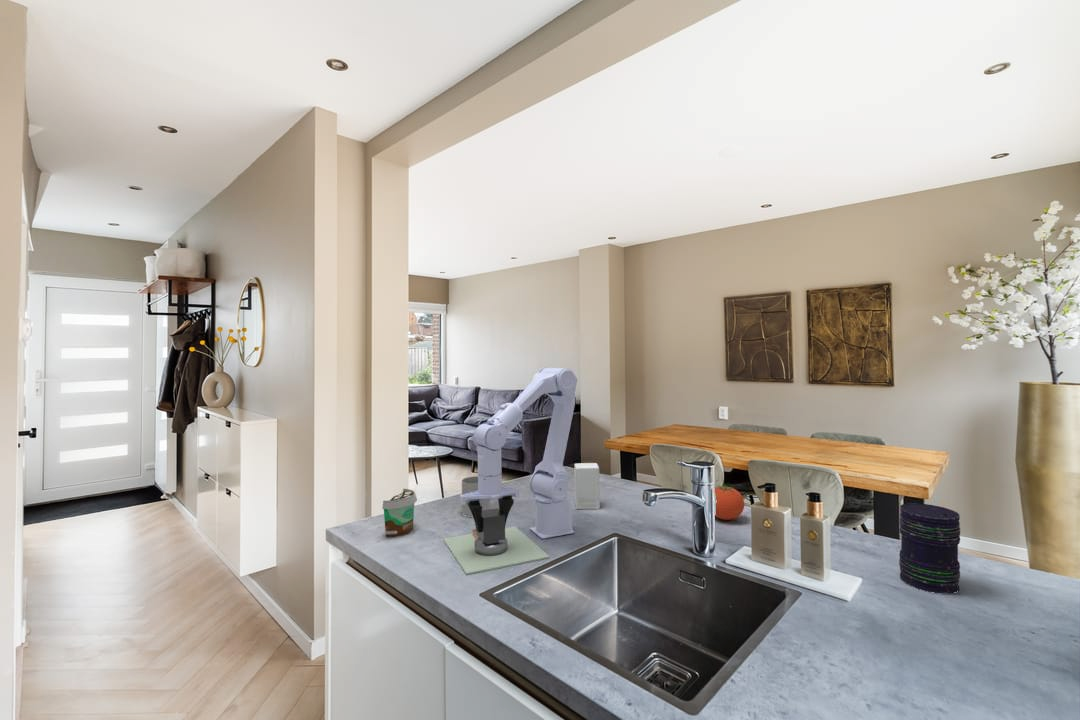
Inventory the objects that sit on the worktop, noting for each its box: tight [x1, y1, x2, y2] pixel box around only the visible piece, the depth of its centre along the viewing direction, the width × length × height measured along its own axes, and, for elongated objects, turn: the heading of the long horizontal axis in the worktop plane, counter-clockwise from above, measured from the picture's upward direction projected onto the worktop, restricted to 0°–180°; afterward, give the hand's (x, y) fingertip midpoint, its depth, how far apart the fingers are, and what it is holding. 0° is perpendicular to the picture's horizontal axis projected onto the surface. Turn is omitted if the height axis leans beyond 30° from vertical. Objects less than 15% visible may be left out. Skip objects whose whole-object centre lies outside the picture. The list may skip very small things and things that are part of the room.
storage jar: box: [898, 502, 961, 594], centre depth 103 cm, size 10×10×15 cm
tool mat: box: [442, 525, 550, 576], centre depth 124 cm, size 20×22×1 cm
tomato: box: [714, 483, 745, 521], centre depth 142 cm, size 10×10×10 cm
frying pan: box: [471, 528, 508, 556], centre depth 126 cm, size 16×8×6 cm, turn 24°
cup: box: [461, 475, 491, 517], centre depth 151 cm, size 8×8×10 cm
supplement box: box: [573, 462, 601, 510], centre depth 156 cm, size 7×7×13 cm
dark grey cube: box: [477, 507, 506, 543], centre depth 122 cm, size 5×5×6 cm
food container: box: [381, 488, 418, 538], centre depth 136 cm, size 12×6×10 cm, turn 168°
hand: (490, 529), depth 122 cm, fingers closed on dark grey cube, 5 cm apart
